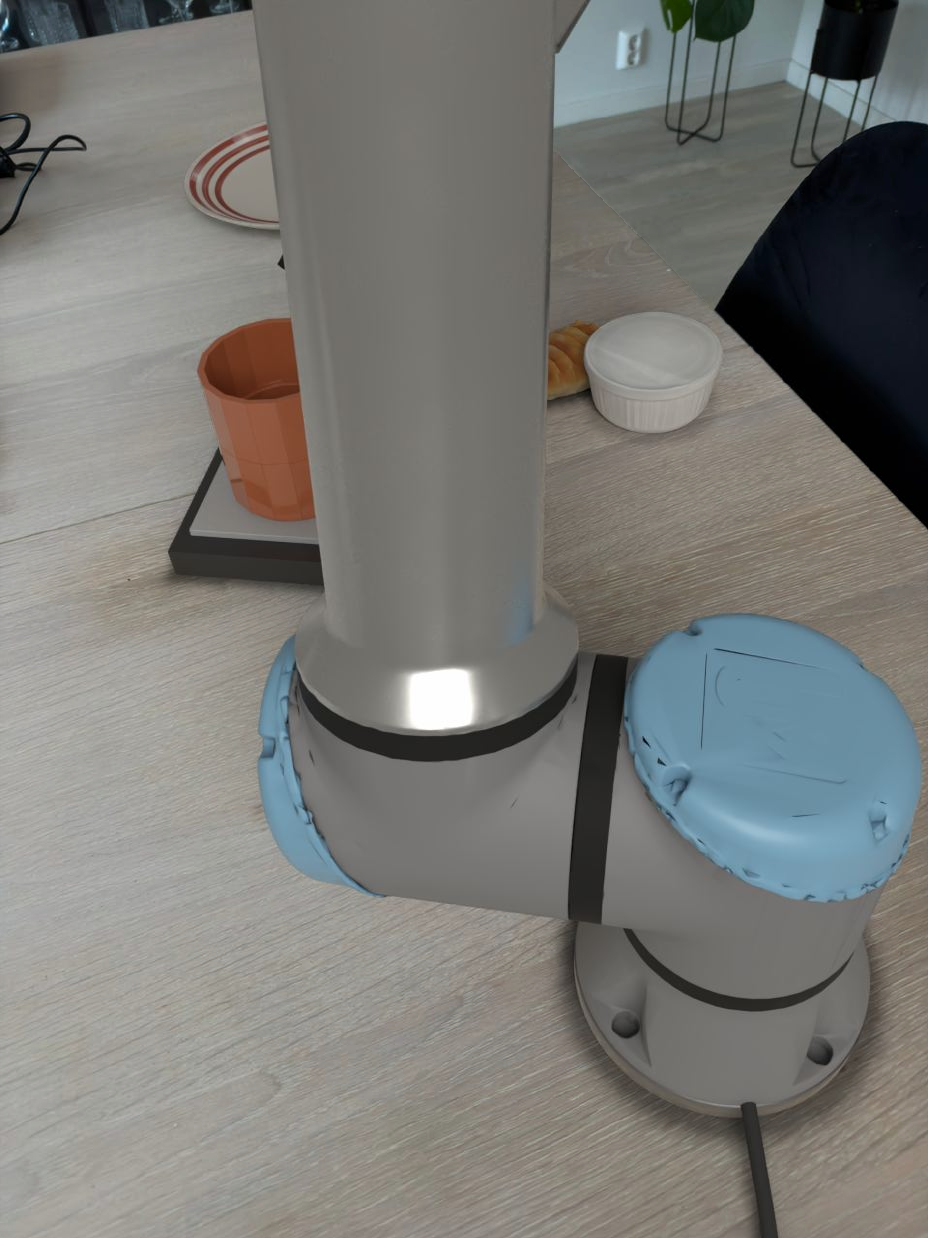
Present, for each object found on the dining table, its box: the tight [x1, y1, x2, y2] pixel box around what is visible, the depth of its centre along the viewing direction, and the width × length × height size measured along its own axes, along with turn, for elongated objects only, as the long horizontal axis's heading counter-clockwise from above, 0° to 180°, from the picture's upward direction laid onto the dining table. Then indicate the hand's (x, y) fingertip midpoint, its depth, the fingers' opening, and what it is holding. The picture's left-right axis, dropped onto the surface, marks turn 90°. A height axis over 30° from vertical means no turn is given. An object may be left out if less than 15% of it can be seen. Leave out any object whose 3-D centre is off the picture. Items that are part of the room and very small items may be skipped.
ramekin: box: [584, 311, 724, 434], centre depth 91 cm, size 11×11×5 cm
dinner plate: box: [183, 121, 280, 231], centre depth 121 cm, size 27×27×3 cm
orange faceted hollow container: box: [196, 317, 316, 522], centre depth 80 cm, size 10×10×11 cm
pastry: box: [547, 319, 601, 401], centre depth 94 cm, size 9×7×4 cm
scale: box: [167, 446, 324, 587], centre depth 85 cm, size 16×16×3 cm
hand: (338, 313), depth 77 cm, fingers open, 13 cm apart
